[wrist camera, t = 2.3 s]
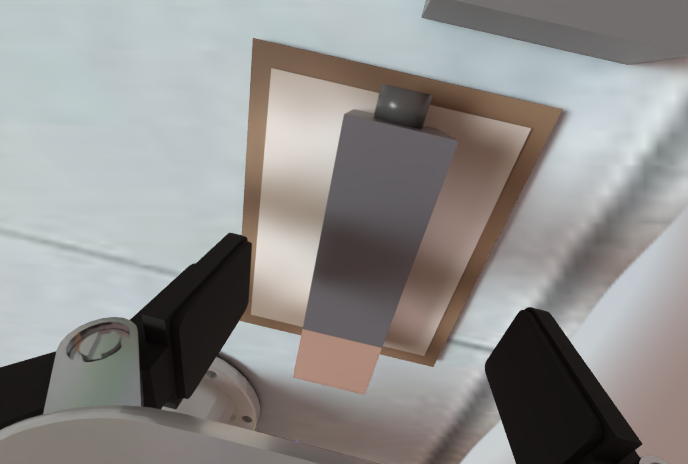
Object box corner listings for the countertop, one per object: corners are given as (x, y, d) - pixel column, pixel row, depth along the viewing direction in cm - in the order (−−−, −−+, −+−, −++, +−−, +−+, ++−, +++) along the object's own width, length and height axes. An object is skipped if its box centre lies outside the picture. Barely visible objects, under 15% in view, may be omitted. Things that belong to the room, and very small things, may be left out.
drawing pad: (431, 358, 21) (433, 369, 20) (241, 313, 21) (235, 322, 20) (553, 108, 13) (564, 109, 13) (258, 40, 13) (251, 37, 13)
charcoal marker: (367, 338, 19) (364, 394, 16) (309, 324, 19) (293, 377, 16) (446, 100, 13) (473, 102, 9) (359, 80, 13) (351, 74, 9)
